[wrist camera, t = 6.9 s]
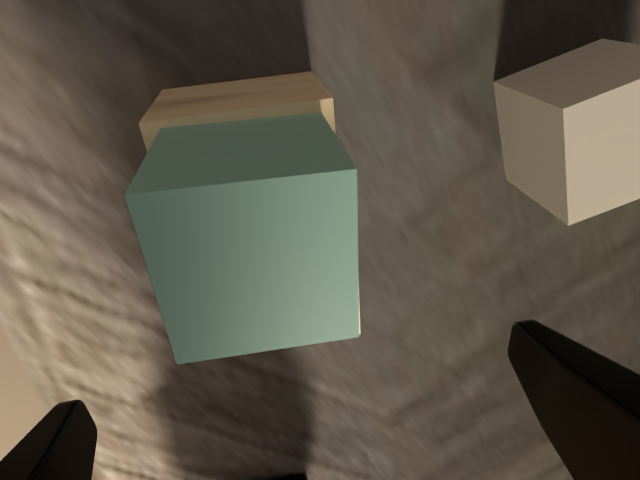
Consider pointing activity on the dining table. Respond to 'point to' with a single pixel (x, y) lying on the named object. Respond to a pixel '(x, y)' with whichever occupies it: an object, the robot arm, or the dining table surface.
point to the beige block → (574, 129)
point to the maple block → (237, 102)
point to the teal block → (249, 235)
